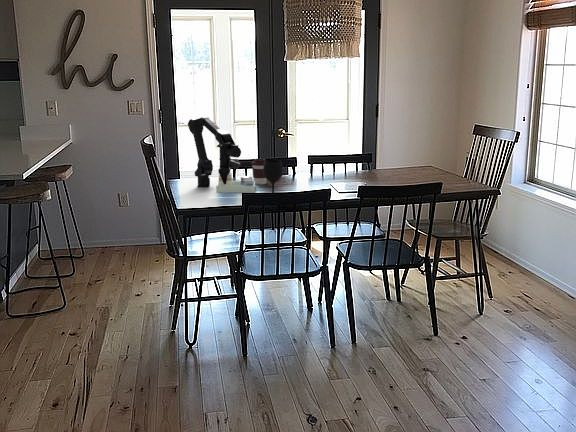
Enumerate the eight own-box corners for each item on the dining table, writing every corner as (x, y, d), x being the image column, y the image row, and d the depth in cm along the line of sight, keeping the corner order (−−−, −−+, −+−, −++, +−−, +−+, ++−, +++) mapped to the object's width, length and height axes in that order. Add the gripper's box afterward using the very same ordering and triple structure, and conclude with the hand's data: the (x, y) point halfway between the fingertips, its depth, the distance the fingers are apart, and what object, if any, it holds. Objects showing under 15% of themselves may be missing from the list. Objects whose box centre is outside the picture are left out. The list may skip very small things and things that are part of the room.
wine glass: (282, 196, 337) (282, 159, 332) (283, 200, 326) (283, 162, 322) (263, 196, 336) (263, 159, 332) (263, 200, 326) (263, 162, 321)
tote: (216, 193, 343) (216, 186, 342) (218, 187, 358) (218, 181, 357) (254, 193, 344) (254, 186, 343) (254, 187, 359) (254, 181, 358)
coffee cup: (253, 186, 364) (253, 160, 360) (250, 183, 373) (249, 158, 370) (270, 185, 367) (269, 160, 363) (266, 182, 376) (266, 157, 372)
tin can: (240, 190, 348) (240, 178, 346) (240, 188, 354) (240, 176, 352) (252, 190, 348) (252, 178, 346) (252, 188, 354) (252, 176, 353)
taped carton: (218, 186, 347) (218, 174, 346) (219, 185, 352) (219, 172, 351) (231, 186, 348) (231, 174, 346) (231, 185, 353) (231, 172, 351)
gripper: (238, 158, 337) (239, 186, 341) (239, 153, 355) (240, 180, 359) (218, 158, 337) (218, 186, 340) (220, 153, 355) (220, 180, 359)
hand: (225, 183), depth 350 cm, fingers closed on taped carton, 5 cm apart
